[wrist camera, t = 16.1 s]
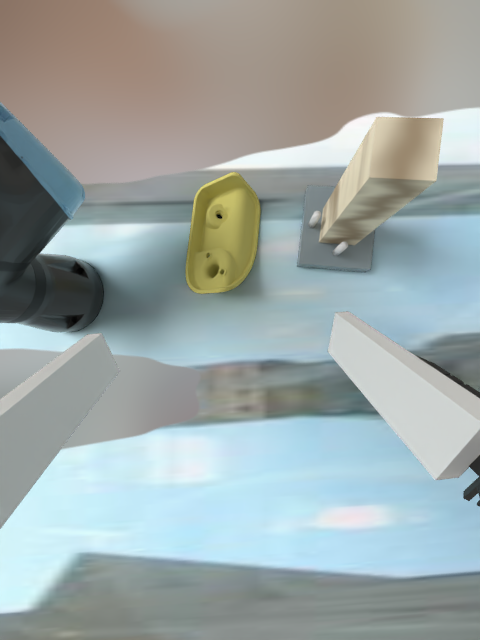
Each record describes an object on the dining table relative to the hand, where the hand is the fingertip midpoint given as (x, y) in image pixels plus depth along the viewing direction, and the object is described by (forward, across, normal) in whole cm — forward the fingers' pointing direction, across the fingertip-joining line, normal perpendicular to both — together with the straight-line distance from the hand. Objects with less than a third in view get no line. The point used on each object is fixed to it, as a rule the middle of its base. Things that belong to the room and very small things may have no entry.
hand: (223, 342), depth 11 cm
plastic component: (+29, 0, +3) cm, 29 cm away
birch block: (+25, +20, +5) cm, 33 cm away
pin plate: (+26, +20, +4) cm, 34 cm away
